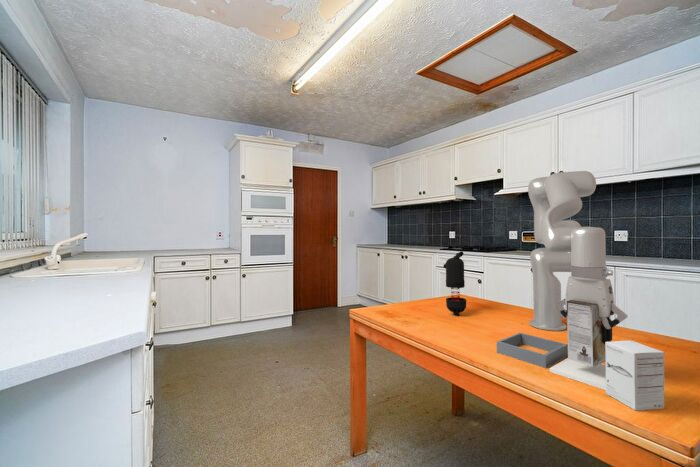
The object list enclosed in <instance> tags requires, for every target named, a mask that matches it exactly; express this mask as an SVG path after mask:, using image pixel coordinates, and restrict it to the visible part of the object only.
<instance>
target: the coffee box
mask: <svg viewBox="0 0 700 467" xmlns="http://www.w3.org/2000/svg"><path fill="white" fill-rule="evenodd" d="M609 317H610V318H611V316H609ZM566 323H567V325H566V329H567V344H568V356H567V358H568V359H570V360H574V361H577V362H580V363H583V364H586V365H589V366H592V367H595V366H597V365H599V364H602V365H603V364H604V363H606V352H605V351H606V349H605V347H606V346H605V344H604V343H603V342H602V329H603V328H604V325H603V323H602V321H601V318H600V317H599V307H598V304H595V303H588V302H583V301H576V300H569V301H567V321H566ZM610 342H612V341H610Z"/></svg>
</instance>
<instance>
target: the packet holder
mask: <svg viewBox="0 0 700 467" xmlns="http://www.w3.org/2000/svg"><path fill="white" fill-rule="evenodd" d="M519 345H524V346H529V347H532V348H535V349H538V350H543V351H546V353H542V352H539V351H538V352H537V351H533V350H530V349H527V348H523V347H521V346H520V347H519ZM496 353H497V354H500V355H504V356H507V357H511V358H513V359H517V360H519V361H522V362H526V363H528V364H532V365H535V366H538V367H541V368H545V369H547V368H549V367H552V366H553V365H555V364H557V362H558V363H559V361H562V359H563V360H564V359H566V357H567V358H568V343H564V342H559V341H556V340H551V339H547V338H545V337H544V338H543V337H540V336H535V335H531V334H528V333H523V332H518V333H516V334H513V335H510V336H508V337H505V338H503V339H500V340H498V341H496Z"/></svg>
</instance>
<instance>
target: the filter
mask: <svg viewBox="0 0 700 467" xmlns="http://www.w3.org/2000/svg"><path fill="white" fill-rule="evenodd" d="M463 255H464V252H463V251H461V250H460V251H459V252H457V253H455V255H454V256H453V257H450V258H448V259H447V260H446V262H445V263H444V264H443V268H444V269H445V287H446V288H450V289H451V290H455V289H457V290H460V289H462V288H465V287H466V286H465V262H464V261H463V259H461V258H462V256H463ZM451 294H454V291H451ZM455 294H456V296H454V295H451V297H450V296H449V297H447V298H445V304H446V305H445V306H446V309H447V310H448V311H450V312H452V313H453V316H455V317H459V316H460V313H462V312H464V311H465V310H466V309H467V299H466V298H464V297H460V295H458V294H460V291H457V292H455Z"/></svg>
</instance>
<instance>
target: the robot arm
mask: <svg viewBox="0 0 700 467" xmlns="http://www.w3.org/2000/svg"><path fill="white" fill-rule="evenodd" d="M596 187H597V181H596V177H595V176H594V174H593V173H592V172H591V171H588V170H578V171H563V172H561V171H560V172H555V173H553V174H550V175H548V176H542V177H536V178H533V179H532V180H530V181H529V183H528V187H527V190H528V192H527V193H528V197H529V199H530V200H529V201H530V203H531V205H532V209H533V223H534V224H533V230H534V231H533V232H534V233H533V235H534V240H535V242H536V243H537V244H540V245H544V247H539V248H535V249H533V250H532V251H531V253H530V254H529V260H530V266H531V271H532V290H533V295H532V296H533V319H531V320H529V325H530V326H531V327H533V328H536V329H539V330H543V331H552V332H554V331H557V332H558V331H565V330H566V329H567V325H566V324H565V323H563V322H562V321H563V320H562V319H564V318H565V320H566V322H567V301H569V300H576V301H583V302H588V303H595V304H598V307H599V317H600V318H601V321H602V323H603V325H604V328H603V329H602V342H603V343H604V344H605V342H610V341H611V342H612V341H613V328H615V327H617V325H619V324H620V323H622V322H624V321H625V320H626V319H627V318H628V317H629V316H628V314H627V313H625V312H624V311H623V310H622V309H621V308H620V307H619V306H617V305H616V304H615V297H614V290H613V284H612V282H611V279H610V278H607V277H609V276H610V277H611V276H613V275H614V271H613V270H611V269H610V270H609V269H608V268H607V266H606V265H607V264H606V263H607V261H606V258H607V256H606V255H607V253H606V251H607V250H606V231H605V230H604V229H603V228H602V227H594V226H581V224H580V223H579V222H578V221H576V220H567V219H569V218H571V217H573V216H575V215H576V214H578V213H579V212H580V211H581V210H582V208H583V201H582V199H581V198H584V197H589V196H592V194H594V192H595V190H596ZM562 272H563V273H570V275H571V276H568V279H567V283H566V289H565V298H563V299H562V284H561V281H560V280H559V279H558V276H556V275H555V274H554V273H562ZM614 315H616V317H615V318H614V319H613V320H612V318H611V316H614ZM609 316H610V317H609Z"/></svg>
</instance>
